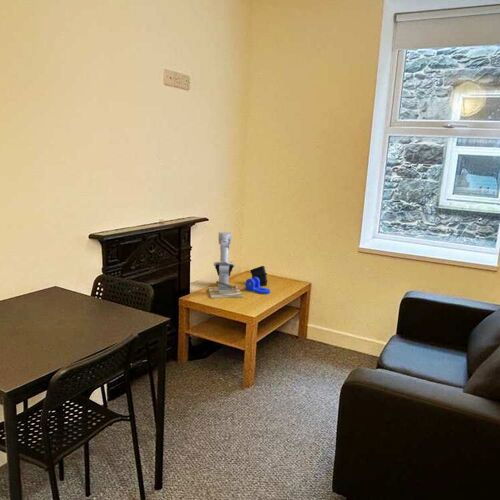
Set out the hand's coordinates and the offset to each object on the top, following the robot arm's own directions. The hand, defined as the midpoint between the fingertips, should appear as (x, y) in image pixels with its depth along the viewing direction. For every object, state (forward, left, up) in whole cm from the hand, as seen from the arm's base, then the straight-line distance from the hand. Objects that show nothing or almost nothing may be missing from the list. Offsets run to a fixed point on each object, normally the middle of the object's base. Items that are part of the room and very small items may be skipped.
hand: (223, 275), depth 309 cm
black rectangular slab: (-22, +30, -14) cm, 40 cm away
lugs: (-2, +1, -13) cm, 13 cm away
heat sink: (-2, +2, -13) cm, 13 cm away
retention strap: (-2, +2, -8) cm, 9 cm away
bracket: (-6, +27, -14) cm, 31 cm away
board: (-2, +2, -14) cm, 14 cm away
